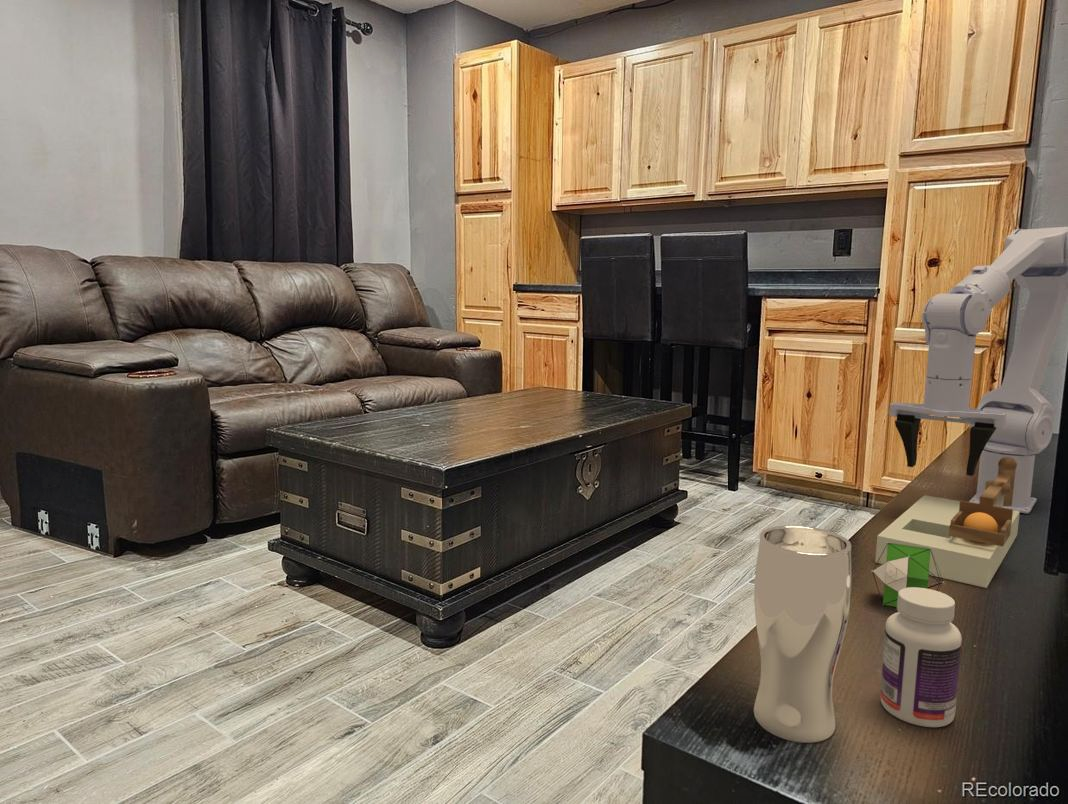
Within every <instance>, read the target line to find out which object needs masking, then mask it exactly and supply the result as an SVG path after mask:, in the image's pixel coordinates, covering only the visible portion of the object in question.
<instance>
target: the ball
mask: <svg viewBox="0 0 1068 804" xmlns="http://www.w3.org/2000/svg"><path fill="white" fill-rule="evenodd" d="M963 526H964V527H969V528H974V529H980V530H985V531H990V532H996V533H997V532H998V525H997V523H996V521H995V519H994V518H993V517H991V516H990V515H988V514H986V513H981V512H977V513H973V514H970V515H969V516H968V517H967V518H966V519H965V521H964V524H963Z"/></svg>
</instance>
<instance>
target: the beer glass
mask: <svg viewBox="0 0 1068 804" xmlns="http://www.w3.org/2000/svg"><path fill="white" fill-rule="evenodd" d="M758 543H759V544H758V550H757V551H758V552H757V556H756V557H757V558H756V566H755V574H754V575H755V576H754V585H753V587H754V589H753V590H754V597H753V598H754V599H753V601H754V602H753V603H754V615H755V617H754V618H755V625H756V633H757V640H758V641H757V642H758V646H759V655H760V680H759V686H758V690H757V693H756V697H755V701H754V706H753V715H754V718H755V720H756V722H757V723H758V724H759V725H760V727H762V728H763V729H764V730H765V731H766V732H768V733H770V734H772V735H773V736H775V737H778V738H780V739H783V740H787V741H789V742H794V743H799V744H801V743H803V744H814V743H819V742H823V741H825V740H827V739H829V738H831V737H832V735H833V734H834V732H835V729H836V719H835V718H836V717H835V709H834V703H833V702H834V701H833V684H834V676H835V671H836V668H837V663H838V660H839V657H840V653H841V650H842V646H843V644H844V643H843V642H844V639H845V636H846V630H847V627H848V622H849V618H850V610H851V600H852V543H851V541H849V540H848V539H847V538H846V537H845V536H842V535H841V534H838V533H836V532H833V531H830V530H826V529H822V528H817V527H813V526H806V525H779V526H777V525H776V526H771V527H767V528H765V529H763V530H762V531H761V532H760V534H759V542H758Z"/></svg>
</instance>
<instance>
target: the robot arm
mask: <svg viewBox="0 0 1068 804" xmlns="http://www.w3.org/2000/svg"><path fill="white" fill-rule="evenodd" d="M1013 280H1015V281H1016V283H1017V284H1016V285H1018V286H1021V287H1022V288H1024V289H1026V290H1028V292H1029V295H1028V299H1027V301H1026V304H1025V305H1026V306H1025V308H1024V312H1023V315H1022V319H1021V321H1020V325H1019V328H1018V332H1017V335H1016V338H1015V342H1014V344H1013V348H1012V351H1011V354H1010V357H1009V360H1008V363H1007V367H1006V371H1005V373H1004V377H1003V380H1002V382H1001V385H1000V386H998V387H997V388H995V389H992V390H990V391H988V392H986V393H985V394H983V395H981V399H980V401H979V404H978V406H977V407H976V408H972V407H970V403H971V402H970V401H971V392H972V391H971V390H972V382H973V371H974V360H975V349H976V339H977V335H978V334H980V333H982V332H983V331H984V329H985V327H986V325H987V322H988V318H989V317H990V316H991V313H992V309H993V308H995V307H996V305H998V304H999V303H1000V302H1001V301H1003V299H1004V298H1005V297H1007V296H1008V294H1009V293H1010V290H1011V282H1012V281H1013ZM1067 301H1068V226H1058V227H1043V228H1028V229H1024V228H1016V229H1014V230H1012V231H1011V233H1010V234H1008V235H1007V236H1006V237H1005V241H1004V248H1003V251H1002V253H1000V254H999V255H998V257H996V259H995V260H994V261H993V262H992V263H991V264H990V265H975V266H974V267H973V268H972V269H971V272H970V273H969V274H967V275H966V276H965V277H964V278H962V279H961V281H959V282H958V283H956V284H955V285H954V286H953V287H952V288H951V289H950V290H949V291H947V293H937V294H935V295H934V296H933V297H931V298H929V300H927V301H926V304H925V306H924V309H923V312H922V313H921V322H922V326H923V328H924V331H925V333H924V334H925V335H924V336H925V337H924V341H925V344H926V345H928V350H927V351H928V352H927V362H926V363H927V364H926V376H925V386H924V397H923V399H924V400H923V403H909V402H908V403H907V402H898V401H897V402H895V401H894V402H892V403H889V412H888V413H889V415H888V416H889V417H895V418H896V419H895V420H894V426H895V428H896V429H897V431H898V435H899V436H900V439H901V442H902V444H903V448H904V452H905V456H906V465H907V467H909V468H914V467H915V466H916V465H917V457H918V439H919V432H920V427H921V421H922V420H929V421H930V420H931V421H939V422H950V423H956V424H957V423H959V424H969V451H968V452H969V453H968V459H967V466H966V476H970V477H972V476H974V475H975V473H976V469H977V467H979V468H978V476H977V486H976V494H974V496H972V498H971V499H969V501H968V502H973V503H979V502H980V496H981V495H982V494H983V493H984V491H985V485H986V482H987V481H994V480H995V479H996V478H997V477H998V468H999V467H998V462H999V460H1000V459H1002V458H1004V457H1010V458H1013V459H1014V460H1015V461H1016V463H1017V467H1016V471H1015V480H1014V489H1013V499H1012V506H1003V508H1009V509H1013V510H1016V511H1020V513H1022V514H1030V512H1032V509H1033V507H1034V505H1035V504H1036V503H1037V500H1038V499H1037V498H1036V497H1031V495H1032V486H1033V476H1034V467H1035V459H1036V455H1037V454H1040V453H1041V452H1042V451H1044V450H1045V449H1046V448H1047V447H1048V445H1049V444H1050V442H1051V440H1052V437H1053V431H1054V430H1053V429H1054V425H1053V423H1054V418H1055V409H1054V407H1053V405H1052V404H1051V403H1050V402H1049V401H1048V399H1046V398H1045V397H1044V396H1043V395H1042V394H1041V393H1040V391H1041V387H1042V384H1043V382H1044V381H1043V380H1044V378H1045V374H1046V370H1047V367H1048V364H1049V360H1050V358H1051V354H1052V351H1053V348H1054V344H1055V341H1056V339H1057V334H1058V331H1059V328H1060V324H1061V321H1062V318H1063V316H1064V312H1065V308H1066V305H1067ZM978 463H979V466H977V465H978Z"/></svg>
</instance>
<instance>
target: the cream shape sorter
mask: <svg viewBox="0 0 1068 804" xmlns="http://www.w3.org/2000/svg"><path fill="white" fill-rule="evenodd" d="M960 501H961V500H956V499H954V500H953V499H951V498H945V497H944V498H942V497H936V496H933V495H931V496H930V495H926V494H924V495H923V496H922V497H920V498H919V499H918V500H917V501H916V502H914V504H912V505H911V506H910V507H909V508H908V509H907V510H906V511H904V512H903V513H902V514H901V515H900V516H898V518H896V519H894V521H893V522H892V523H890V524H889V525H888V526H887V527H886V528H885V529H883V530H882V531H881V532H880V533H879V534H878V535H877V536H876V547H875V548H876V549H875V564H876V563H878V564H881V565H882V564H884V563H885V562H886V559H887V546H888V544H887V542H889V543H893V544H900V545H907V546H914V547H921V548H928V549H930V548H931V550H930V565H929V571H930V572H931V573H932V574H933V575H932V574H931V573H930V572H929V574H930V575H931V576H932V577H935V576H936V577H937V578H941V577H942V578H941V579H945V580H950V581H955V582H959V583H963V584H967V585H971V586H976V587H980V588H985V589H988V586H989V584H991V581H992V579H993V578H994V576H995V575H996V573H997V570H998V569H999V567H1000V566H1001V564H1002V562H1003V560H1004V559H1005V557H1006V555H1007V554H1008V553H1009V550H1010V549H1011V547H1012V545H1013V543H1014V541H1015V540H1016V538H1017V536H1018V530H1019V521H1020V511H1016V510H1013V515H1012V524H1011V533H1010V536H1009V538H1008V539H1007V541H1006V542H1005V544H1004V546H998V545H993V544H987V543H982V542H977V541H972V540H967V539H962V538H957V537H952V536H949V528H950V524H951V519H952V518H953V517H954V516H955V515H956V514H957V513H958V512H959V506H960ZM1003 502H1004V494H1002V495H1001V496H1000V497H999V499H998V500H997V501H996V503H995V504H994V505H993V506H997V507H1003ZM886 545H887V546H886ZM885 547H886V548H885ZM884 549H885V550H884ZM883 550H884V552H883ZM931 551H932V554H933V556H934V557H932V554H931ZM882 552H883V554H882ZM881 554H882V556H881ZM880 557H881V558H880ZM933 558H934V559H935V560H933ZM878 559H880V560H878ZM877 561H879V562H877ZM934 562H936V563H934ZM936 564H937V565H936ZM935 565H936V567H935ZM937 567H938V568H937ZM936 568H937V570H936ZM938 569H939V570H938ZM937 572H938V573H937ZM939 572H940V573H939ZM930 575H929V576H930ZM934 575H935V576H934ZM938 575H939V577H938ZM940 575H941V576H940ZM936 577H935V578H936Z"/></svg>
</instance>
